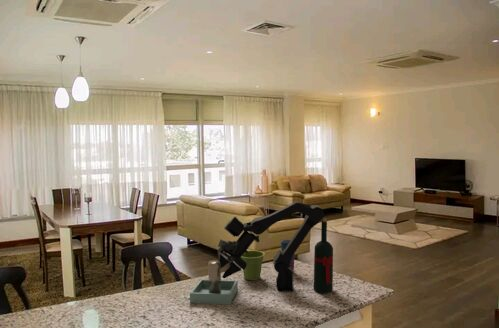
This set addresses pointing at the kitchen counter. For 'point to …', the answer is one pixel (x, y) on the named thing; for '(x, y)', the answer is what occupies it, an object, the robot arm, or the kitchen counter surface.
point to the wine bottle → (323, 263)
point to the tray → (203, 296)
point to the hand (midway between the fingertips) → (218, 274)
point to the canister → (214, 276)
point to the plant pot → (253, 264)
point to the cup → (283, 246)
